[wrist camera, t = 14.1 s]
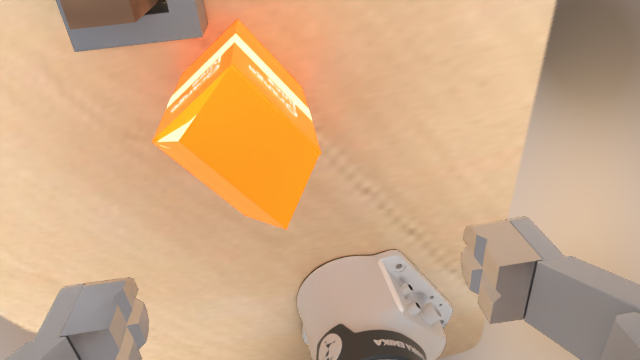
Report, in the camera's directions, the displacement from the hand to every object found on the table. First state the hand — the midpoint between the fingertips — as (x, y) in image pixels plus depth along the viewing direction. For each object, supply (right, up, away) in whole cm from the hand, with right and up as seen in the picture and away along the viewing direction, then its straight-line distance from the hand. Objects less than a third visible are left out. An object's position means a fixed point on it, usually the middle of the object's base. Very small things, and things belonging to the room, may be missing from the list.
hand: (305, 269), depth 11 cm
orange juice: (-7, +12, +32) cm, 35 cm away
